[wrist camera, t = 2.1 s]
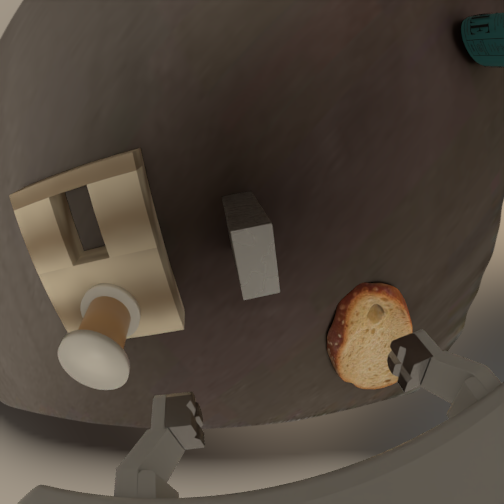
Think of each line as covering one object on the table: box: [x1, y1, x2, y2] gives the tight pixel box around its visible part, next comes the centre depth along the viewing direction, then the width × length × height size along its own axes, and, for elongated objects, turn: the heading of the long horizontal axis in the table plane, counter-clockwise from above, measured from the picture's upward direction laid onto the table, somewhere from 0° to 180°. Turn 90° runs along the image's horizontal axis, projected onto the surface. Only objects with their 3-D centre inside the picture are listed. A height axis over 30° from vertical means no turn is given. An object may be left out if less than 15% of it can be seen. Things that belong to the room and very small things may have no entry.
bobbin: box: [58, 283, 141, 390], centre depth 21 cm, size 6×6×7 cm
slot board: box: [9, 148, 185, 339], centre depth 24 cm, size 16×12×3 cm
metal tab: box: [222, 191, 280, 300], centre depth 22 cm, size 5×2×8 cm, turn 8°
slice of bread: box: [327, 282, 413, 389], centre depth 35 cm, size 18×18×4 cm
